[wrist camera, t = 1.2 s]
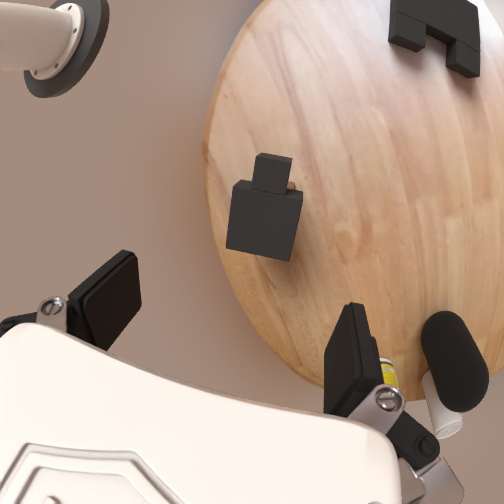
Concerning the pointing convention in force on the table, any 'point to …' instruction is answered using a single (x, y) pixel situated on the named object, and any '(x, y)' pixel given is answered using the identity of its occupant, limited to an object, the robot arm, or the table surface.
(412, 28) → the base pad
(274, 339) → the table surface
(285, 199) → the small pad
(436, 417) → the beverage can
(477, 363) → the decorative object
